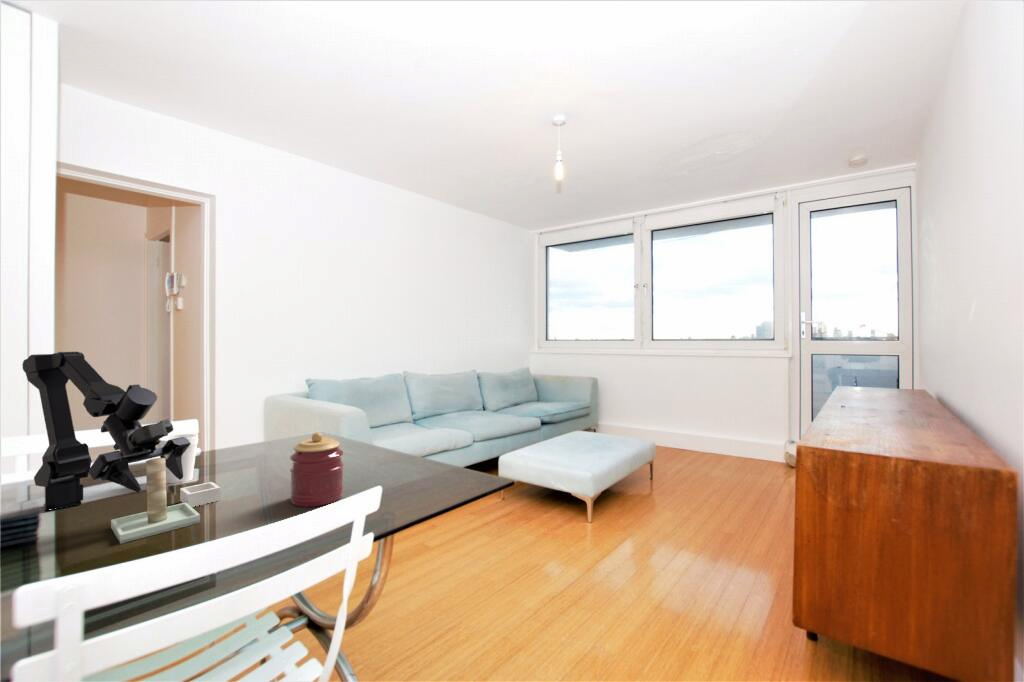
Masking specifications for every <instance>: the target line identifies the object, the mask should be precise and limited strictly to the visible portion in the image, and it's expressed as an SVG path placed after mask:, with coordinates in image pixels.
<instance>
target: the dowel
mask: <svg viewBox="0 0 1024 682" xmlns="http://www.w3.org/2000/svg"><path fill="white" fill-rule="evenodd" d="M145 468H146V469H145V472H146V474H145V475H146V504H147V506H146V508H147V511H146V512H147V513H148V523H158V522H161V521H164V520H166V519H167V507H168V506H167V504H168V503H167V502H168V501H167V482H166V461H165V458H161V457H154V458H150V459H146V460H145Z"/></svg>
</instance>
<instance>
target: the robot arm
mask: <svg viewBox="0 0 1024 682" xmlns="http://www.w3.org/2000/svg"><path fill="white" fill-rule="evenodd" d="M21 367H22V371H23V372H24V373H25V375H26V379H27V382H29V383H30V384H31V385H32V386H33V387H35V388H36V389H37V390H38V392H39V397H40V404H41V407H42V408H41V409H42V413H43V414H42V415H43V418H44V422H45V429H46V434H47V440H48V447H47V448H46V450H45V452H44V454H43V456H42V458H41V460H42V461H41V462H42V464H41V466H40V467H39V469H38V471H37V472H36V473H35V475H34V476H33V481H34V484H35V486H37V487H44V503H43V508H45V509H44V511H45V510H49V509H55V508H61V507H65V508H67V507H66V506H70V507H74V506H73V505H75V506H80V505H82V503H83V502H82V501H83V500H84V484H83V482H81V479H84V478H85V479H86V478H89V475H90V477H91V479H92V480H99V479H100V480H101V481H102V482H103V481H109V482H110V483H113V484H118V485H120V486H122V487H124V488H127V489H129V490H131V491H133V492H135V493H140V491H141V490H142V488H141V486H140V483H139V481H138V480H137V478H135V476H134V474H133V472H132V471H131V469H130V467H129V464H132V463H138V462H141V461H147V460H150V459H155V458H165V461H166V467H167V468H168V469H169V470H170V471H171V472H172V473H173V474H174V475H175V476H176V477H177V478H178V479H179V480H180V479H182V478H183V470H182V455H183V453H184V452H185V451H186V449H187V448H188V447H189V445H190V444H191V443H190V442H189V441H188V439H187V438H186V437H180V438H176V439H171V440H168V441H167V443H166V444H165V445H164V447H161V448H159V447H156V446H158V445H159V443H160V442H161V441H160V440H159V439H160V438H163V437H166V436H169V434H170V433H172V432H173V431H174V426H173V424H172V422H171V421H170V419H163V420H160V421H157V422H156V423H151V424H147V425H144V426H143V425H142V424H141V423H140V420H143V419H145V417H146V416H147V414H148V413H149V412H150V411H151V409H152V408H153V406H154V405H155V404H156V402H157V401H158V395H157V393H156V392H154V391H152V390H150V389H149V388H145V387H142V386H141V385H140V384H129V385H128V387H127V388H126V390H124V389H123V388H121V387H120V386H119V385H118V386H117V385H115V384H112V383H108V382H107V381H106V380H105V379H104V378H103V377H102V376H101V375H100V374H99V373H98V372H97V371H96V369H95V368H93V366H92V365H91V364H90V363H89V362H88V361H87V360H86V359H85V355H84V353H83V352H79V351H58V352H54V353H48V354H47V353H44V354H41V353H39V354H38V353H37V354H31V355H29V356H28V358H26V359H23V361H22V366H21ZM69 380H70V382H71V383H72V384H73V385H74V386H75V388H77V389H78V391H80V393H81V394H82V395H83V397H84V400H83V402H82V403H83V407H84V408H85V410H86V412H87V413H88V414H89V415H90V416H91V417H93V418H100V417H106V416H107V418H106V419H105V420H104V421H103V425H102V426H101V427H100V432H101V433H102V434H103V433H107V432H108V433H109V435H110V436H111V438H112V440H113V441H114V445H113V447H112V448H113V449H114V451H111V452H105V453H100V454H99V455H98V456H97V458H96V459H95V460H94V462H93V461H92V457H91V455H90V452H89V451H90V450H89V445H88V443H85V442H84V443H81V442H80V441H79V440H78V439H77V436H76V432H75V427H74V423H73V417H72V411H71V407H70V401H69V397H68V391H67V384H68V381H69ZM92 462H93V463H92ZM61 509H62V508H61Z"/></svg>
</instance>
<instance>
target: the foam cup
mask: <svg viewBox="0 0 1024 682" xmlns="http://www.w3.org/2000/svg"><path fill="white" fill-rule="evenodd" d="M180 437H186V438H187V439H188V441H189V442H190V443H191V444H190V445H189V447H188V448H187V449H186V451H185V452H184V453H183V455H182V470H183V478H182V479H180V480H179V479H178V478H177V477H176V476H175V475H174V474H173V473H172V472H171V471H170V470H169V469H168V468H167V467H166V484H180V482H181V483H185V481H186V482H188V480H189V481H191V480H192V479H193V476H194V468H195V464H196V463H195V462H196V457H197V456H196V455H197V448H198V444H199V434H197V433H179V434H171V435H167V436H164V437H162V438H160V439H159V440H160V441H161V442H160V443H159V444H158V445H159V447H158V448H161V447H164V445H165V444H166V443H167V441H168V440H171V439H176V438H180Z"/></svg>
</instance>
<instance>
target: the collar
mask: <svg viewBox="0 0 1024 682" xmlns="http://www.w3.org/2000/svg"><path fill="white" fill-rule="evenodd" d="M179 492H180V497H179V498H180V501H181V502H182V503H185V502H186V503H187V504H189V505H190V506H191V507H192V508H195V506H196V507H199V505H200V506H205V505H208V504H207V503H209V504H212V503H211V502H213V503H216V501H217V502H220V501H221V487H220V486H219V485H217V484H216V483H214V482H213V481H210V482H209V481H208V482H204V483H200V484H196V485H190V486H185V487H180V488H179ZM181 502H180V503H181Z"/></svg>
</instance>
